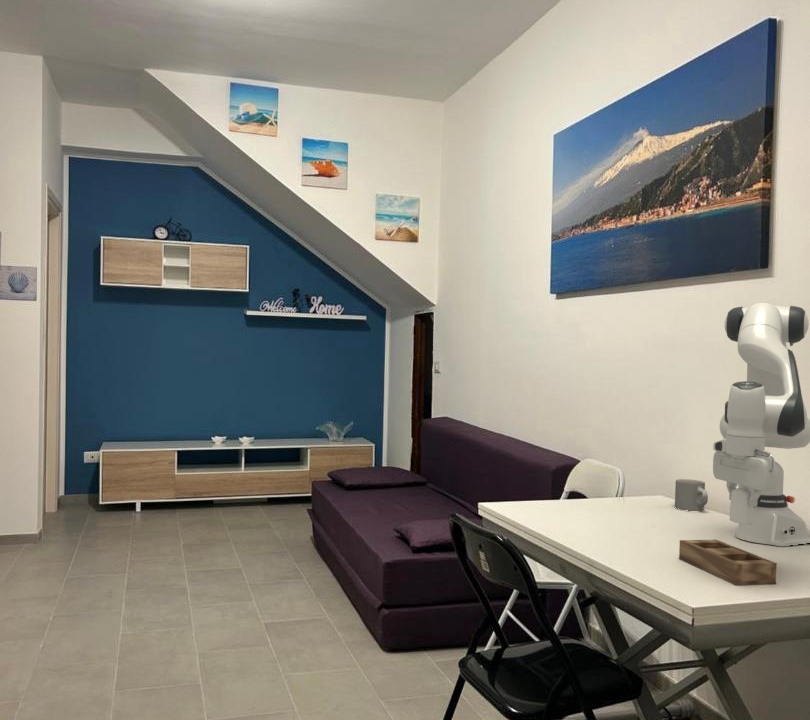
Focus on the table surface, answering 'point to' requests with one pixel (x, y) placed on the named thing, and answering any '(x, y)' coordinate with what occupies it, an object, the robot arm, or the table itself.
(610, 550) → the table surface
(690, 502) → the coffee mug
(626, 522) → the table surface
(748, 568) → the walnut slot rail
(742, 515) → the eye dropper bottle
